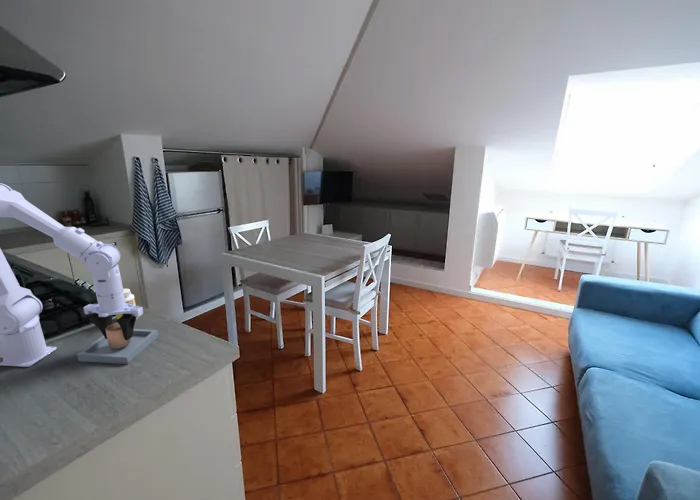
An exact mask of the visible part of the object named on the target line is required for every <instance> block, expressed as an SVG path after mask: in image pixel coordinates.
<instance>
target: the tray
mask: <svg viewBox="0 0 700 500" xmlns="http://www.w3.org/2000/svg"><path fill="white" fill-rule="evenodd" d="M158 337H159V329H148V328H147V329H145V328H134V329H133V337H131V342H130V343H129V344H128V345H126V346H124V347H121V348H116V349H113V348H110V347H109V345H108V340H107V339H105V337H104V335H103V334H102V335H101V336H100V337H99V338H97V339H96V340H95V341H93V342H92V343H91V344H90V345H88V346H86V347H85V348H84V349H83V350H81V351H80V352H78V353H77V354H76V356H77V361H78V362H84V363H87V362H88V363H101V364H102V363H103V364H104V363H105V364H118V365H119V364H120V365H121V364H123V365H129V364H130V363H131V362H133V360H135V358H137V356H139V355H140V354H141V353H142V352H143V351H144V350H145V349H147V347H148V346H149V345H151V344H152V343H153V342H154V341H155V340H156V339H157V338H158Z"/></svg>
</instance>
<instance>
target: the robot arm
mask: <svg viewBox="0 0 700 500" xmlns="http://www.w3.org/2000/svg"><path fill="white" fill-rule="evenodd" d="M0 218H12V219H13V218H15V219H16V220H18V221H20V222H22V223H24V224H26V225H28V226H30V227H32V228H33V229H35V230H37V231H39V232H42V233H43V234H45V235H46V236H49V237H51V238H52V239H53V244H54V246H55V247H58V248H59V249H61V250H62V251H64V252H66V253H68V254H69V255H72V256H73V257H74V258H76V259H78V260H80V261H81V262H83V267H84V268H85V269H86V270H87V272H90V273H91V277H92V281H93V286H94V291H95V295H96V301H97V303H93V304H92V303H89V304H87V305H85V306H84V307H82V308H83V312H84V314H85V315H90V314H92V316H91V317H90V318H89V321H90V322H91V323H92V324H93V325H95V326H96V327H97V329H99V331H100V332H101V334H102V336H103V335H104V337H105V339H107V335H106V330H105V329H106V328H107V327H108V326H109V325H112V324H113V316H112V315H122V317H120V318H119V319H117V318H116V323H118V324H119V325H120V327H121V329H122V332H123V336H124V339H125V340H129V339H130V338H131V337H133V329H135V324H136V321H137V320H138V318H139V317H141V316H142V315H143V314H144V309H143V306H137V305H136V306H134V305H131V304H127V303H126V302H125V297H124V292H123V289H124V287H123V282H122V277H121V273H120V267H119V264H118V263H119V262H120V261H121V257H122V255H121V252H120V251H119V249H118V248H117V247H116V246H115V245H113V244H112V243H111V244H110V243H103V242H102V241H101V240H99V241H98V240H97V239H95V238H93V237H92V236H90V235H88V234H87V233H85V232H86V231H85V230H84V229H83V228H81V227H79V228H77V227H75V226H64V224H61V223H60V222H58V221H57V220H56V219H54V218H52V217H51V216H50V215H48V214H46V213H45V212H44V211H42V210H41V209H39V208H38V207H37V206H35V205H34V204H32V203H31V202H29V201H28V200H27V199H25V197H24V196H23V194H22V193H21V192H19V191H17V190H14V189H12V188H11V186H9V185H7V184H4V183H1V182H0ZM42 311H43V302H42V301H41V300H40V298H38V297H36V296H35V295H34V294H33V292H32V291H31V289H29V288H25V287H22V286H20V283H19V282H18V279H17V278H16V276H15V274H14V272H13V270H12V268H11V266H10V264H9V262H8V261H7V258H6V256H5V255H4V253H3V251H2V249H1V248H0V357H2V358H3V362H1V363H0V366H7V367H23V368H29V367H31V366H33V365H35V364H36V363H37V362H39V361H40V360H42V359H44V358H45V357H47V356H48V355H49V354H51V353H53V352H54V351H56V350H57V349H58V347H57V346H47V343H46V340H45V336H44V333H43V330H42V325H41V323H40V314H41V313H42ZM137 317H138V318H137ZM136 319H137V320H136Z"/></svg>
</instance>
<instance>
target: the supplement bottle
mask: <svg viewBox="0 0 700 500" xmlns="http://www.w3.org/2000/svg"><path fill="white" fill-rule="evenodd" d="M123 292H124V297H125V302H126V303H127V304H131V305H134V306H137V305H136V298H135V294H133V293H132V292H131V290H130V288H123ZM115 317H116V320H117V319H119V318H120V317H122V315H116V316H115ZM138 318H139V317H137V319H136V321H137V320H138Z"/></svg>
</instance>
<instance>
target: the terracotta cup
mask: <svg viewBox="0 0 700 500" xmlns="http://www.w3.org/2000/svg"><path fill="white" fill-rule="evenodd" d="M105 330H106V335H107V340H108V345H109V347H110V348H113V349H116V348H121V347H124V346H126V345H128V344H129V343H130V342H131V338H130V339H129V340H125V339H124V336H123V332H122V329H121V327H120V325H119V324H118V322H115V323H112V325H109V326H108V327H107V328H106V329H105Z"/></svg>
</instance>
